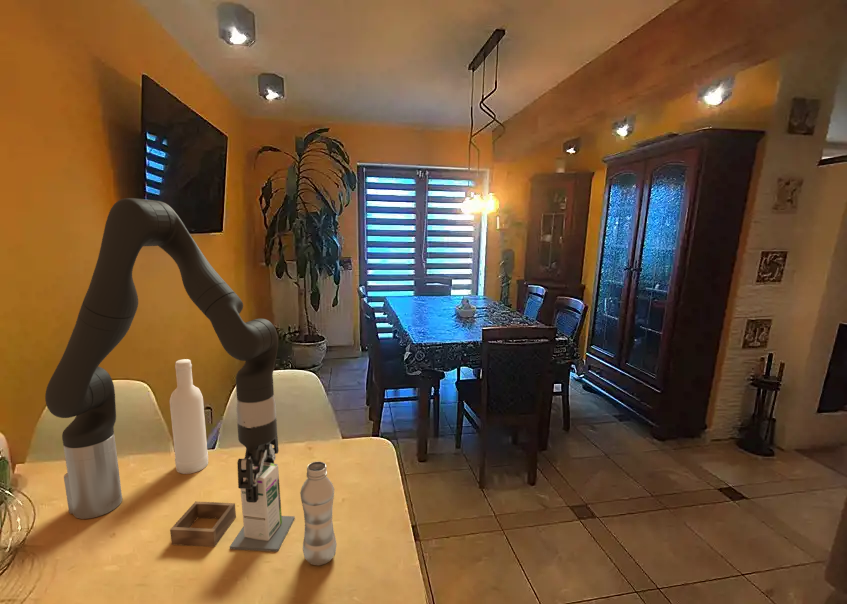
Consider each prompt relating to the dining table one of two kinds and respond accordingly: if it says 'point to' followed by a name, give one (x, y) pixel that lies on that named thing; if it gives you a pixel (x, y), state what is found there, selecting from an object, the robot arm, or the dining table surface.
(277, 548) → the coaster
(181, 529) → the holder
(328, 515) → the plastic bottle
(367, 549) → the dining table surface
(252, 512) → the syrup box
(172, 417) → the bottle
